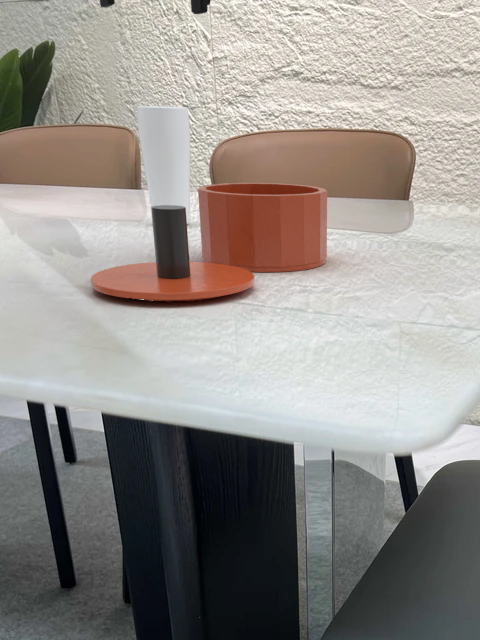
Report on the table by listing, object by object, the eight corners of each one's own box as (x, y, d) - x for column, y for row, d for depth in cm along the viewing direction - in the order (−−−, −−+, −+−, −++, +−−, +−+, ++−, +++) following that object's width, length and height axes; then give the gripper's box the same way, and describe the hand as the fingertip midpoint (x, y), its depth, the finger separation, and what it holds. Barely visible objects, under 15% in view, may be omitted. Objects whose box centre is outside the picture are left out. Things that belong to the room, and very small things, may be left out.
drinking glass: (172, 229, 105) (162, 106, 98) (137, 224, 108) (125, 105, 102) (206, 224, 110) (198, 107, 104) (171, 219, 113) (162, 106, 107)
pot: (232, 276, 77) (228, 197, 74) (185, 254, 88) (180, 184, 84) (348, 266, 84) (349, 193, 81) (291, 247, 94) (290, 181, 91)
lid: (118, 314, 62) (107, 221, 59) (74, 280, 74) (63, 201, 70) (281, 297, 70) (279, 213, 66) (219, 269, 81) (215, 196, 77)
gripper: (210, -177, 79) (221, 18, 87) (31, -212, 71) (60, 6, 79) (238, -198, 73) (246, 13, 81) (46, -238, 65) (76, -1, 73)
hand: (154, 9), depth 80 cm, fingers open, 9 cm apart
